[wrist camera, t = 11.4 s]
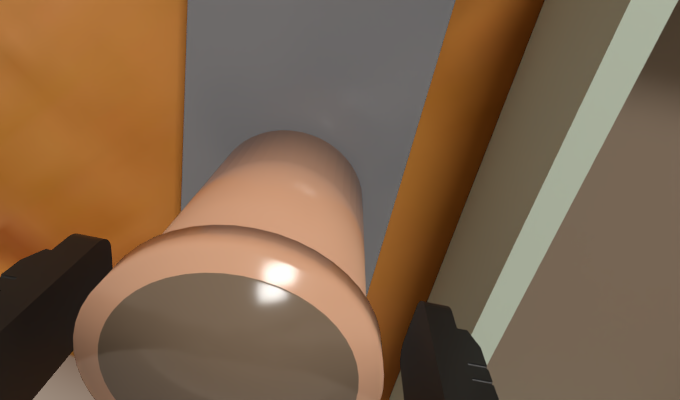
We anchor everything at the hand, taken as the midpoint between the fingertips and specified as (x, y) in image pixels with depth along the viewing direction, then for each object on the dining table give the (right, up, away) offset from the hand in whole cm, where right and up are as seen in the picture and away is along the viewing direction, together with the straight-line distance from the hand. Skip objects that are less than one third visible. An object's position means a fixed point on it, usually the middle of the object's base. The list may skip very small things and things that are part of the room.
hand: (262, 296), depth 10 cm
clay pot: (0, +2, +5) cm, 5 cm away
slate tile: (0, +3, +6) cm, 6 cm away
